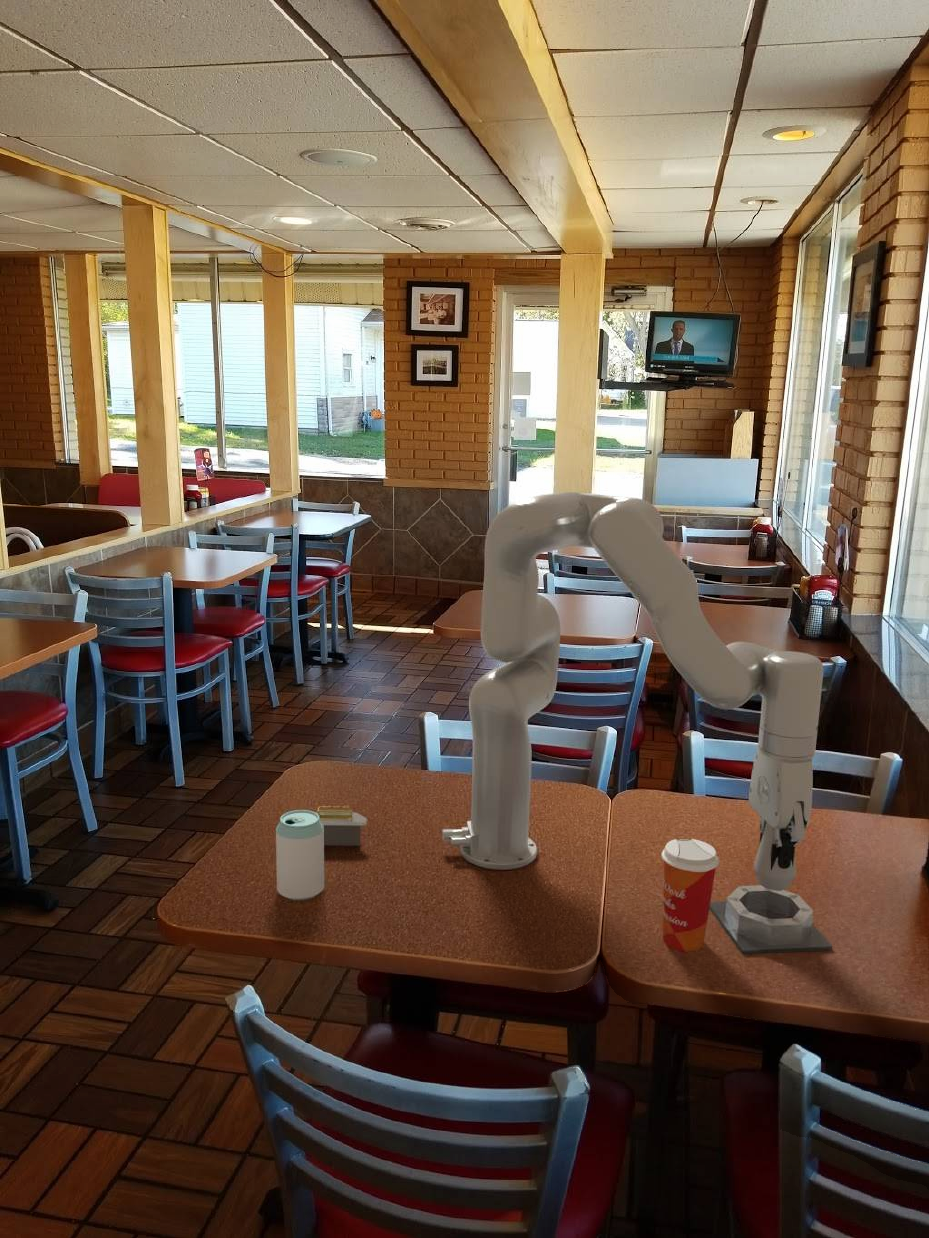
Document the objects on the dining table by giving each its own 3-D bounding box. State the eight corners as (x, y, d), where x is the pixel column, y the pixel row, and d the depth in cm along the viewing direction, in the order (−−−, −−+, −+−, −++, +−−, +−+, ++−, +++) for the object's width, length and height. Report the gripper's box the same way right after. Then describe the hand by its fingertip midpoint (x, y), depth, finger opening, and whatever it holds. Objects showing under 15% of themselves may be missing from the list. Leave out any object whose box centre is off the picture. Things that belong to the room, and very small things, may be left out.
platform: (288, 829, 167) (287, 793, 166) (392, 829, 168) (392, 794, 166) (277, 861, 156) (277, 823, 154) (389, 862, 156) (389, 824, 155)
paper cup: (648, 926, 138) (655, 836, 135) (700, 925, 139) (708, 836, 136) (664, 957, 131) (671, 863, 127) (719, 956, 131) (728, 862, 128)
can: (311, 906, 141) (310, 830, 139) (268, 898, 143) (267, 823, 141) (331, 884, 148) (331, 811, 145) (290, 876, 150) (289, 804, 147)
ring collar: (742, 954, 132) (745, 930, 131) (707, 905, 144) (709, 883, 144) (831, 949, 134) (834, 926, 133) (789, 902, 146) (791, 880, 145)
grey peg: (789, 875, 140) (798, 791, 137) (799, 895, 134) (808, 808, 131) (748, 872, 140) (756, 789, 138) (756, 892, 135) (764, 805, 132)
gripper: (737, 723, 140) (727, 840, 144) (788, 764, 124) (775, 894, 128) (786, 721, 141) (774, 838, 145) (842, 762, 125) (828, 891, 129)
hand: (775, 863), depth 137 cm, fingers closed on grey peg, 3 cm apart
